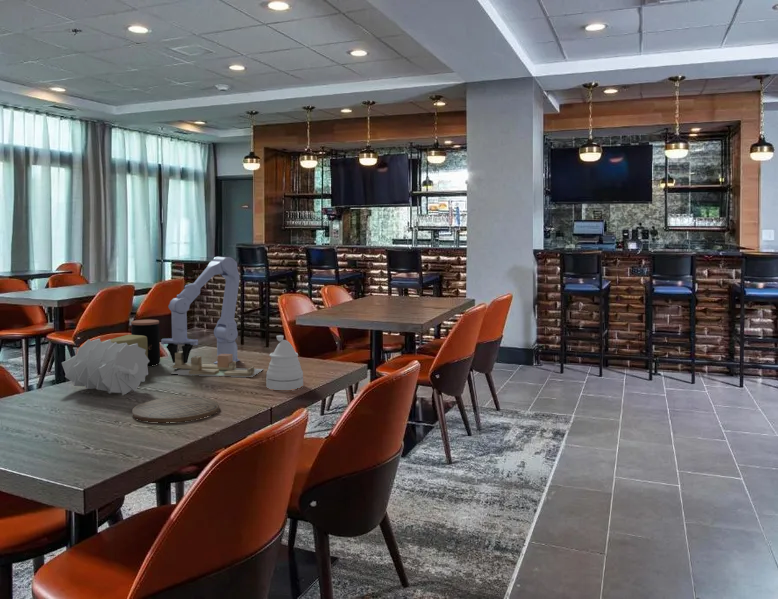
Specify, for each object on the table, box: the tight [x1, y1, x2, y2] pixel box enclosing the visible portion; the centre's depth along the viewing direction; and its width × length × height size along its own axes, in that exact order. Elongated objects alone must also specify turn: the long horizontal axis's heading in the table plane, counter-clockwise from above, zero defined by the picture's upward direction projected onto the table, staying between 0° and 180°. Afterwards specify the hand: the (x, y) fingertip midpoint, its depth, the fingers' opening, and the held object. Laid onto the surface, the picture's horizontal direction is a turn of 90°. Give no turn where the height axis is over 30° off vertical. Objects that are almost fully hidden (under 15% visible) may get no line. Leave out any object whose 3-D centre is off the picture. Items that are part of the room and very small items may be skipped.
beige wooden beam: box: [172, 350, 237, 370], centre depth 258 cm, size 5×24×6 cm, turn 83°
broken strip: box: [189, 355, 255, 376], centre depth 249 cm, size 5×24×6 cm, turn 83°
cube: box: [216, 354, 233, 367], centre depth 257 cm, size 4×4×4 cm
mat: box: [170, 367, 265, 378], centre depth 254 cm, size 14×32×1 cm, turn 83°
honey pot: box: [265, 334, 304, 390], centre depth 231 cm, size 13×13×18 cm
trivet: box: [131, 396, 220, 423], centre depth 198 cm, size 25×25×2 cm
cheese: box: [100, 334, 149, 369], centre depth 242 cm, size 22×10×15 cm, turn 163°
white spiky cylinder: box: [61, 338, 150, 396], centre depth 222 cm, size 18×18×25 cm
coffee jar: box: [130, 319, 161, 367], centre depth 266 cm, size 11×11×18 cm
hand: (180, 362), depth 259 cm, fingers open, 4 cm apart
